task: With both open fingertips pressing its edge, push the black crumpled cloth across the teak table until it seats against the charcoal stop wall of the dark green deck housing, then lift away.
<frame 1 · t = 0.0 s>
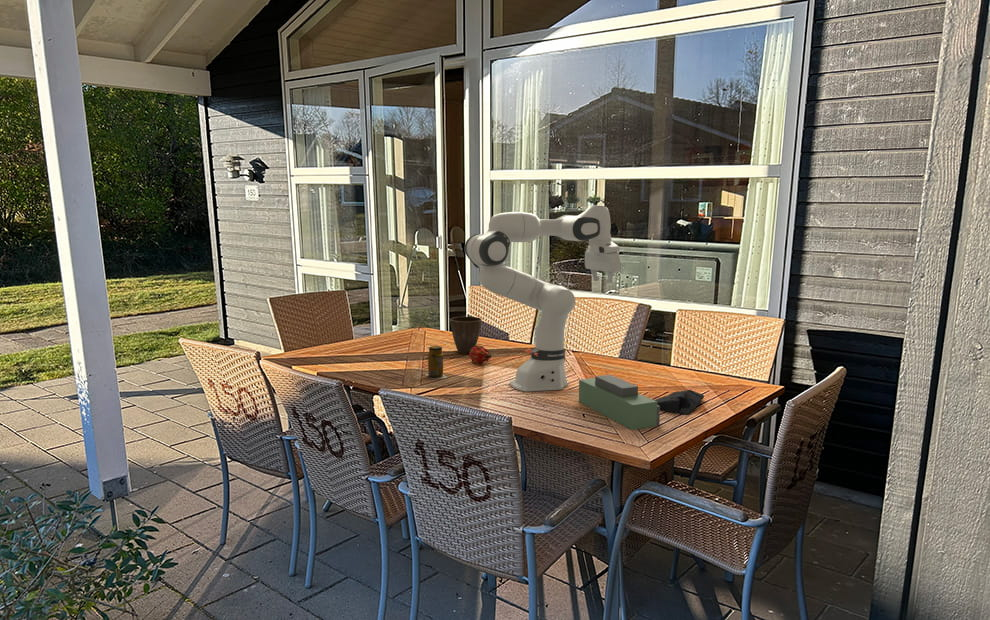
hand: (602, 281, 252), 39 cm above the table, tool pointing down, fingers open, 8 cm apart
condiment: (435, 376, 260), on the table
black crumpled cloth: (678, 406, 223), on the table
plant pot: (466, 352, 304), on the table
dragon fruit: (480, 363, 283), on the table
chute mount: (649, 408, 218), on the table
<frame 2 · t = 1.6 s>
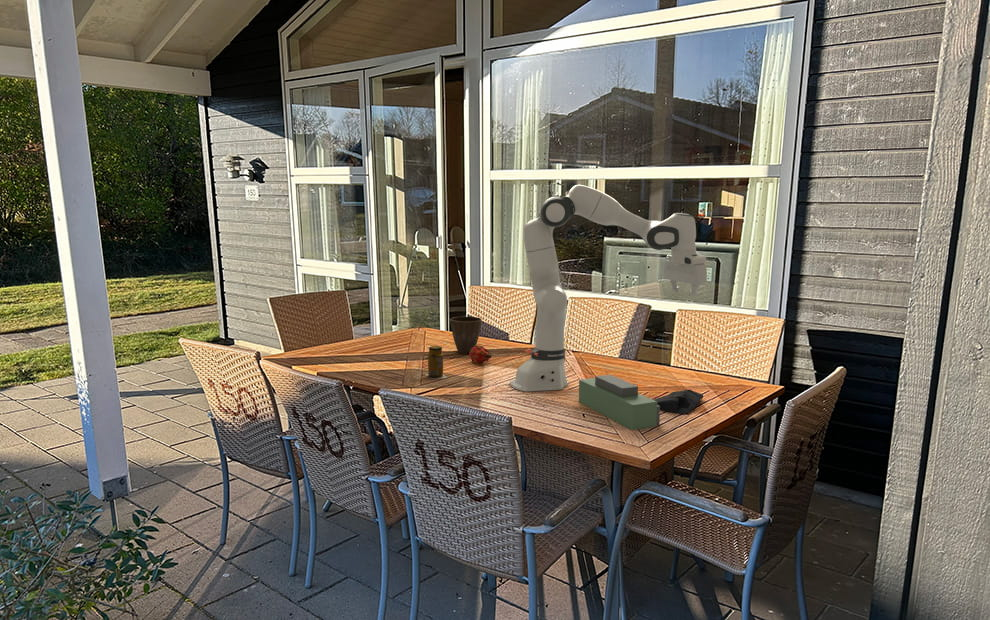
hand: (684, 293, 240), 36 cm above the table, tool pointing down, fingers open, 8 cm apart
nothing on the table moved.
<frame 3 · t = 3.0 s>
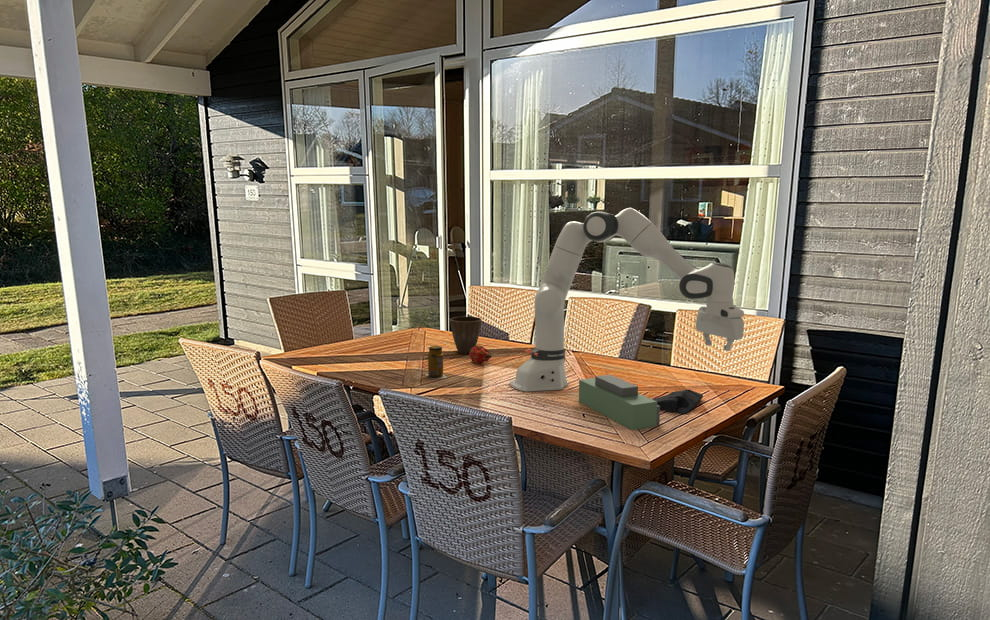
hand: (717, 347, 226), 19 cm above the table, tool pointing down, fingers open, 8 cm apart
nothing on the table moved.
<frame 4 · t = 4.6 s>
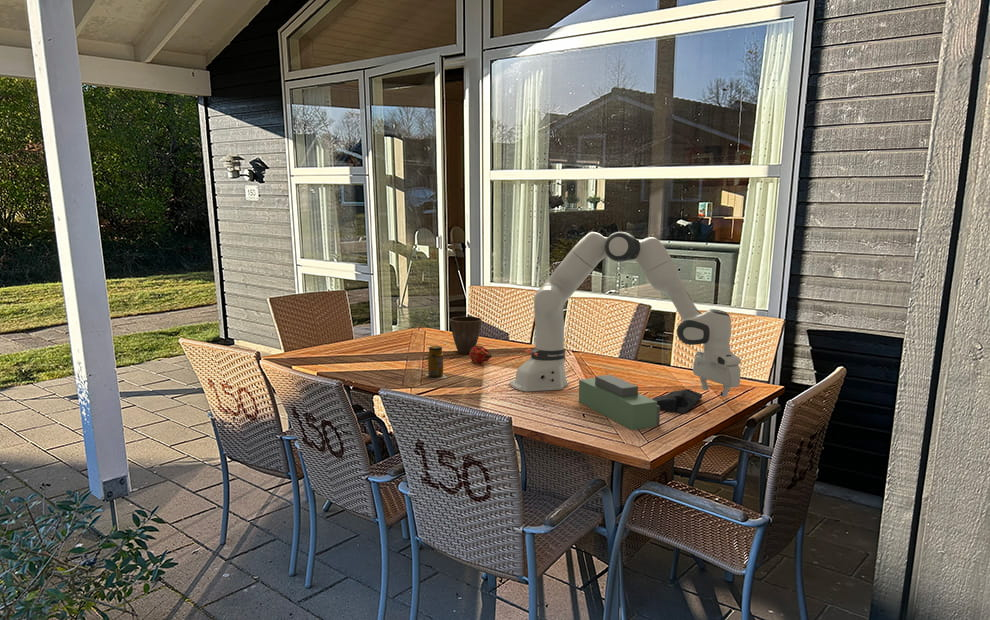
hand: (714, 393, 229), 2 cm above the table, tool pointing down, fingers open, 8 cm apart
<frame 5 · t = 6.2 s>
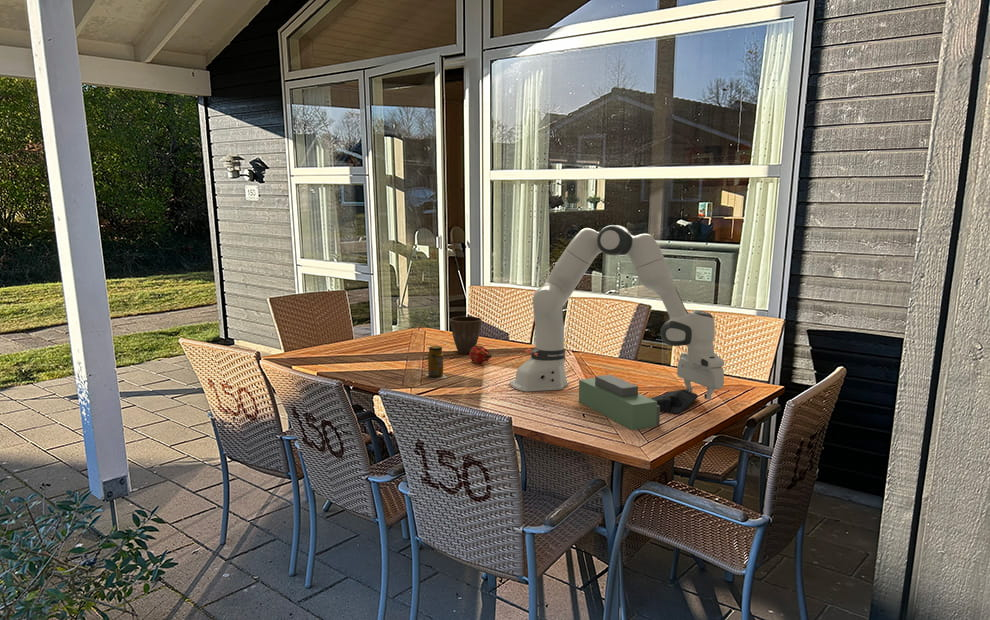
hand: (698, 395, 226), 2 cm above the table, tool pointing down, fingers open, 8 cm apart
black crumpled cloth: (670, 405, 224), on the table
everything else where it was.
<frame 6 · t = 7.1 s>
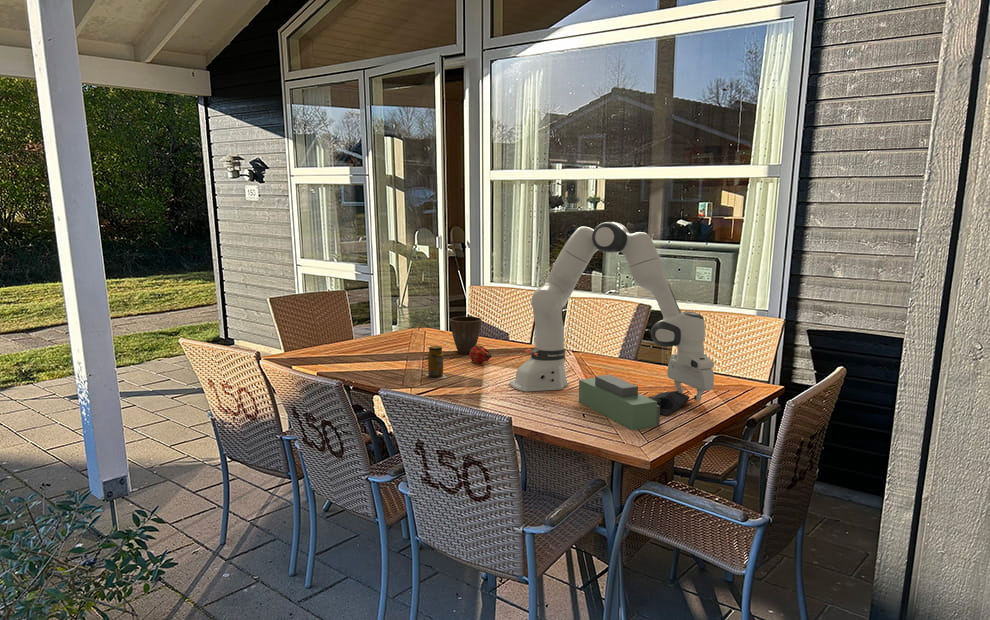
hand: (688, 396, 224), 2 cm above the table, tool pointing down, fingers open, 8 cm apart
black crumpled cloth: (661, 406, 222), on the table
everything else where it was.
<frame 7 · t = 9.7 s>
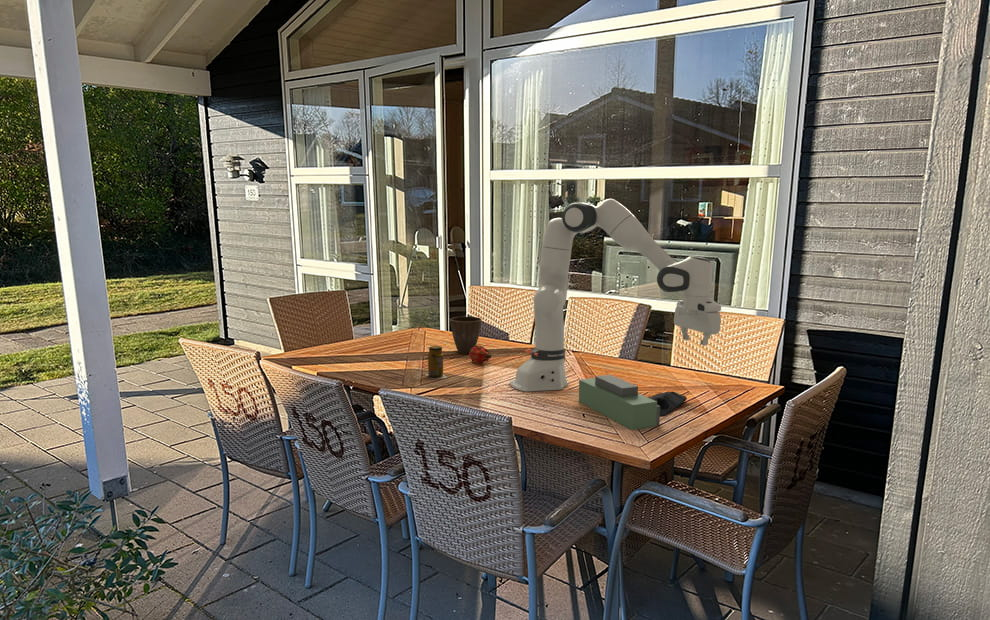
hand: (694, 342, 223), 21 cm above the table, tool pointing down, fingers open, 8 cm apart
black crumpled cloth: (658, 407, 222), on the table
everything else where it was.
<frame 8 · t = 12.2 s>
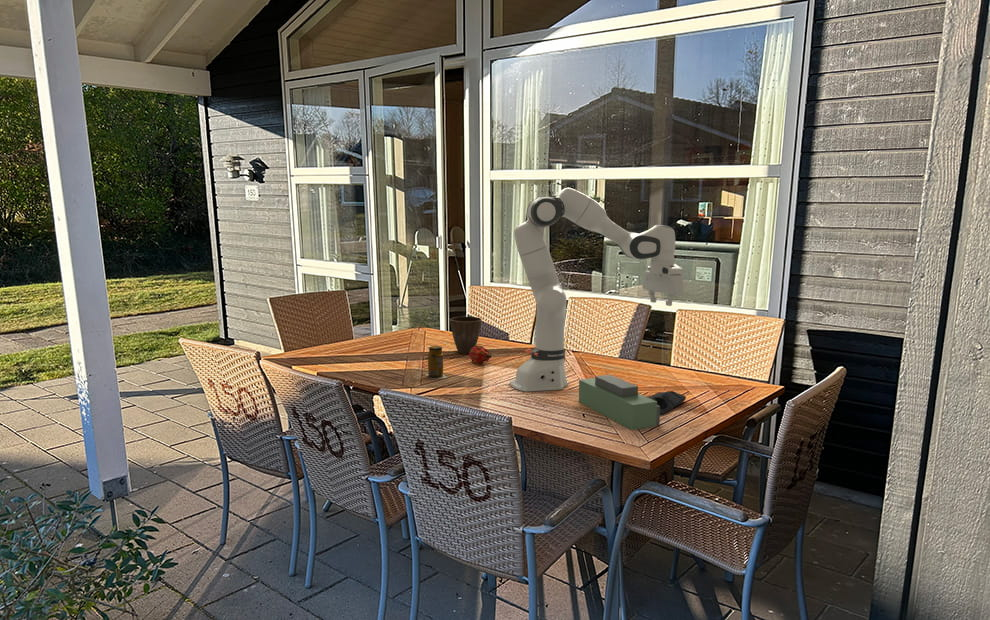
hand: (660, 303, 246), 31 cm above the table, tool pointing down, fingers open, 8 cm apart
nothing on the table moved.
at the end: black crumpled cloth inside the target area (2.8 cm from its centre), on the table; black crumpled cloth tilted 0°; the gripper is holding nothing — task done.
